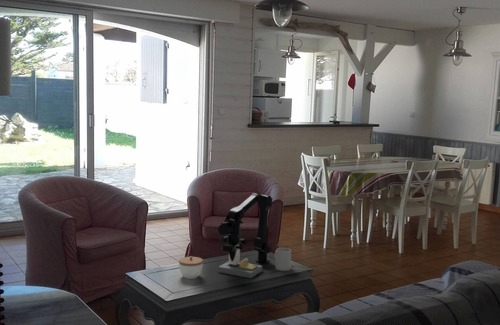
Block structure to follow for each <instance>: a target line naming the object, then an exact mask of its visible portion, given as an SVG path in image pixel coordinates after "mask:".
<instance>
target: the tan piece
mask: <svg viewBox="0 0 500 325" xmlns="http://www.w3.org/2000/svg"><path fill="white" fill-rule="evenodd" d="M258 265H259V264H253V263H250V262H249V258H247V257H246V258H243V259H242V260H240V268H242V269H248V270H254V269H255V268H257V267H258Z"/></svg>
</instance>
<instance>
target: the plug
mask: <svg viewBox="0 0 500 325" xmlns="http://www.w3.org/2000/svg"><path fill="white" fill-rule="evenodd" d="M235 249H236V250H237V251H236V254H235V257H234V260H233V261H231V258H230V255H229V254H228V261H229V264H233V265H237V264H238V263H240V261H241V260H240V258H241V257H240V256H241V252H240V249H238V248H236V246H235Z"/></svg>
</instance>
